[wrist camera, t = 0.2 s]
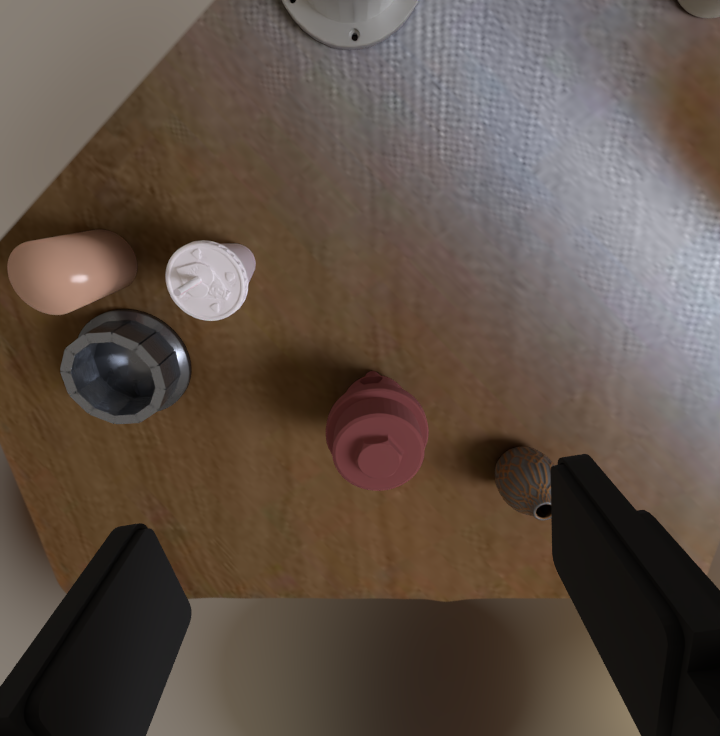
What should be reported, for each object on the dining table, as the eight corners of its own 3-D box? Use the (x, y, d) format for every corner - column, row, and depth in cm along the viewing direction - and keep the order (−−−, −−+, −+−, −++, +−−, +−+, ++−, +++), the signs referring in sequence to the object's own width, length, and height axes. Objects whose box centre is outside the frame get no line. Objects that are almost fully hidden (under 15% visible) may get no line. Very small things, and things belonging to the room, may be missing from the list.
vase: (556, 451, 52) (592, 501, 44) (522, 491, 54) (550, 545, 46) (510, 428, 51) (539, 474, 43) (477, 470, 53) (498, 522, 45)
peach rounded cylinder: (67, 231, 42) (-5, 243, 33) (128, 227, 42) (70, 238, 33) (86, 291, 44) (24, 317, 36) (144, 288, 44) (94, 312, 36)
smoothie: (220, 216, 41) (156, 231, 28) (280, 250, 42) (245, 280, 30) (195, 273, 43) (125, 312, 30) (252, 305, 45) (209, 354, 32)
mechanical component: (435, 403, 49) (367, 448, 52) (382, 338, 46) (312, 390, 49) (457, 468, 38) (368, 522, 40) (390, 389, 35) (298, 453, 37)
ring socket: (64, 312, 45) (32, 326, 40) (177, 305, 45) (157, 319, 40) (99, 412, 50) (74, 434, 45) (201, 406, 49) (186, 428, 45)
